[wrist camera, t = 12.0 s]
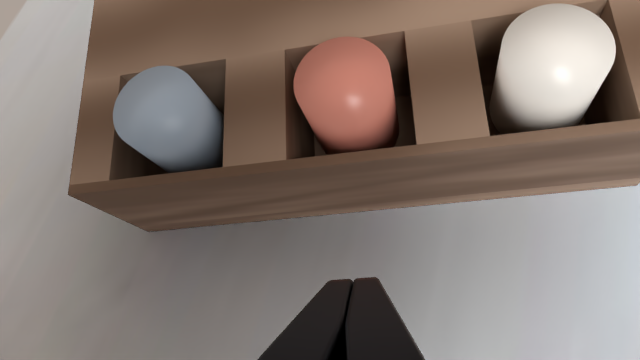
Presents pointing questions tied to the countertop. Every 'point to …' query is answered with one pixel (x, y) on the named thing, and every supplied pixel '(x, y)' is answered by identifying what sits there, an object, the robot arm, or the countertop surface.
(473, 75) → the wooden socket block
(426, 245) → the countertop surface
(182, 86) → the grey rounded block
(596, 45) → the white key
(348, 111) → the brick key
